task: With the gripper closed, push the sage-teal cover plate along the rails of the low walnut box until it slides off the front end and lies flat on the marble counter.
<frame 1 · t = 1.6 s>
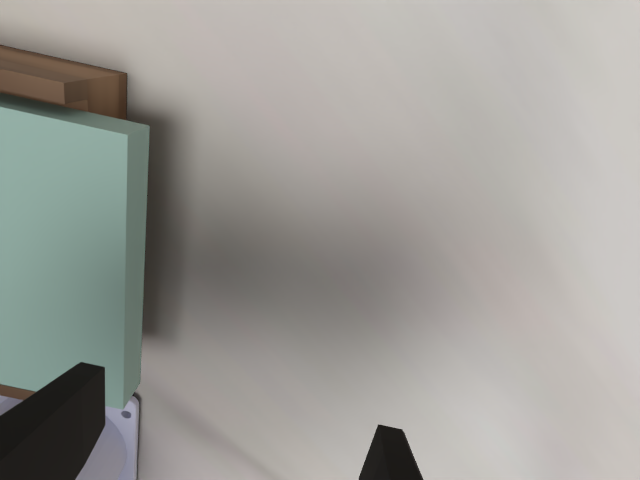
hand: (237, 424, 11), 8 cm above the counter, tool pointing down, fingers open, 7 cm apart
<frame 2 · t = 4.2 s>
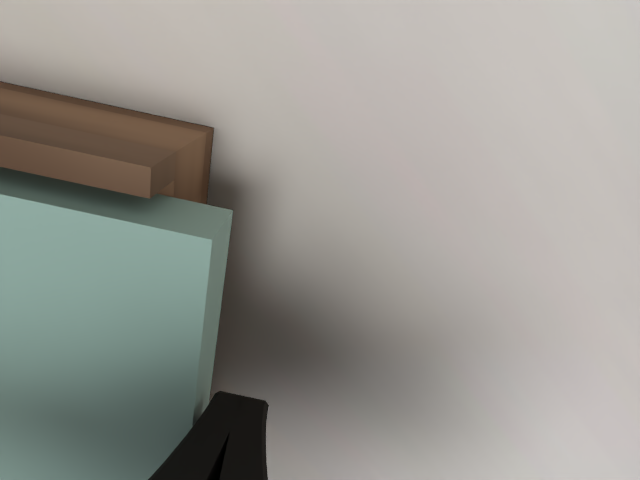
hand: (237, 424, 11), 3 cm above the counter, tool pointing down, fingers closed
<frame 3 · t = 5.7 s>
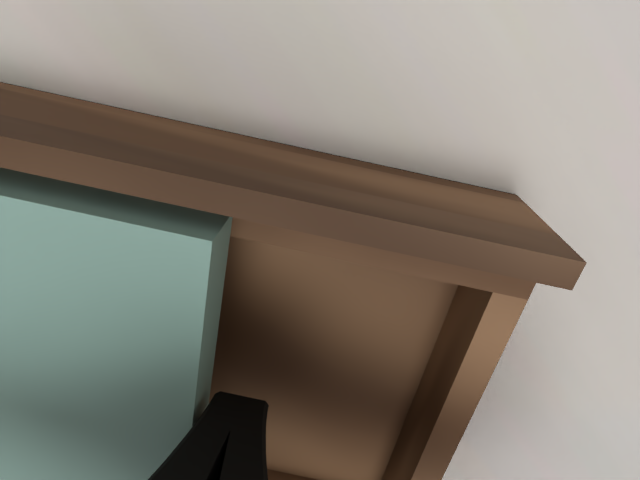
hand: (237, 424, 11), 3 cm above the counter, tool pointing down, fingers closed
walnut box: (226, 337, 14), on the counter
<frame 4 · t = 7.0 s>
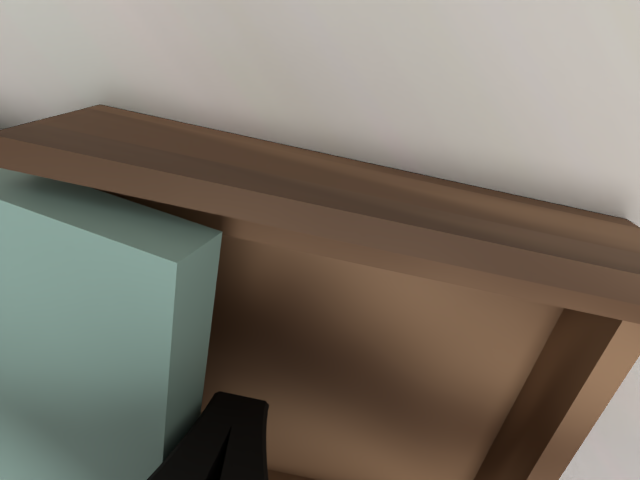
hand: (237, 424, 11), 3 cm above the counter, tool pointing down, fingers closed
walnut box: (317, 356, 14), on the counter
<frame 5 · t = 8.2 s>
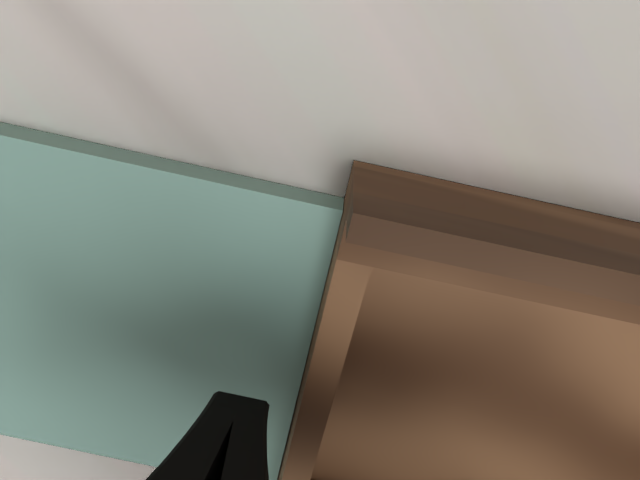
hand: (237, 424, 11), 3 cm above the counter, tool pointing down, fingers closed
cover plate: (71, 293, 15), on the counter
walnut box: (518, 399, 14), on the counter
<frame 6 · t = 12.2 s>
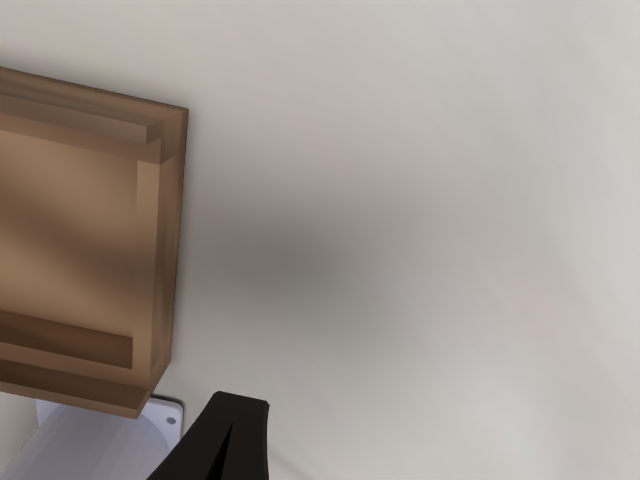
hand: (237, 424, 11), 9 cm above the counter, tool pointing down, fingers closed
walnut box: (26, 220, 20), on the counter
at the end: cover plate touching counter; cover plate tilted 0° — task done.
